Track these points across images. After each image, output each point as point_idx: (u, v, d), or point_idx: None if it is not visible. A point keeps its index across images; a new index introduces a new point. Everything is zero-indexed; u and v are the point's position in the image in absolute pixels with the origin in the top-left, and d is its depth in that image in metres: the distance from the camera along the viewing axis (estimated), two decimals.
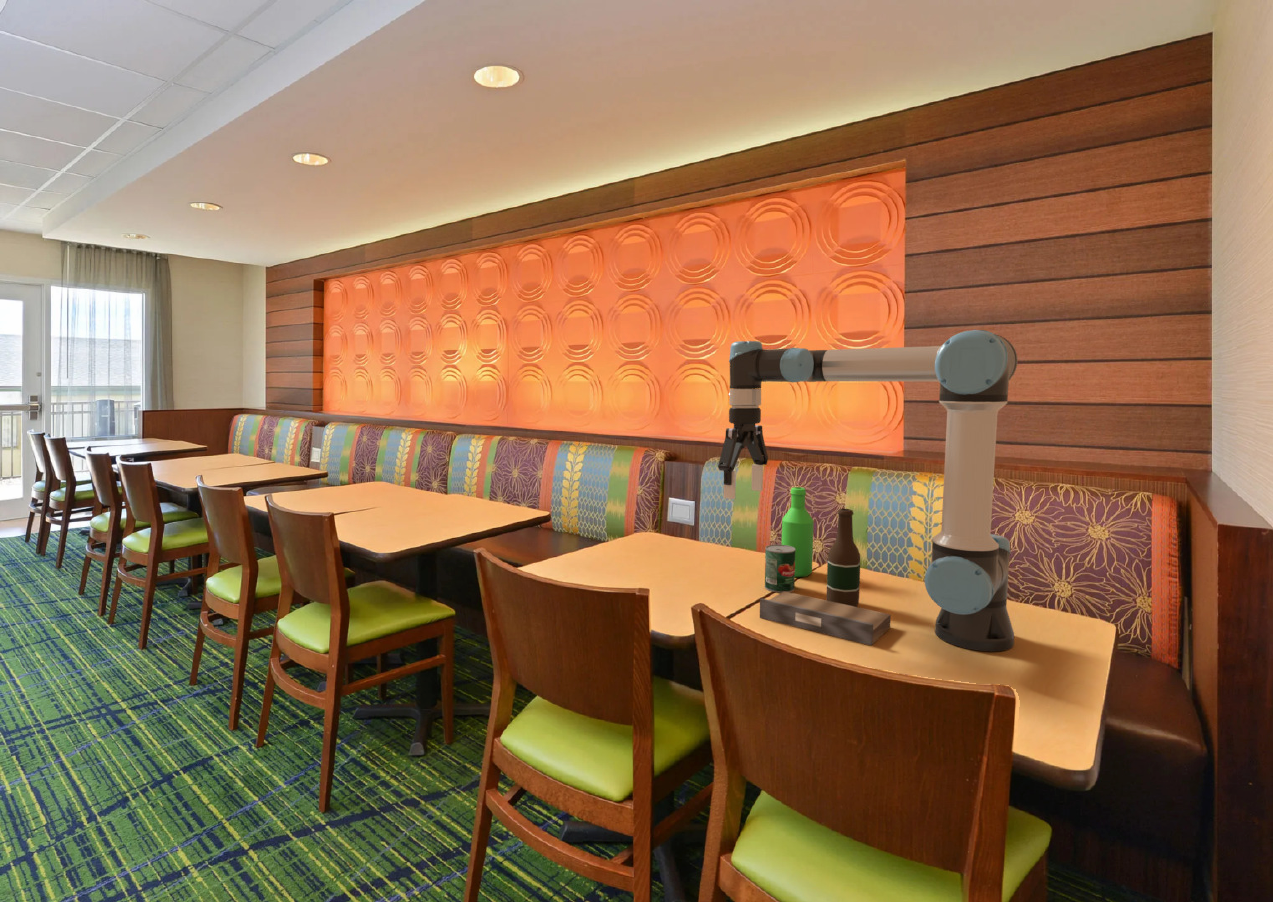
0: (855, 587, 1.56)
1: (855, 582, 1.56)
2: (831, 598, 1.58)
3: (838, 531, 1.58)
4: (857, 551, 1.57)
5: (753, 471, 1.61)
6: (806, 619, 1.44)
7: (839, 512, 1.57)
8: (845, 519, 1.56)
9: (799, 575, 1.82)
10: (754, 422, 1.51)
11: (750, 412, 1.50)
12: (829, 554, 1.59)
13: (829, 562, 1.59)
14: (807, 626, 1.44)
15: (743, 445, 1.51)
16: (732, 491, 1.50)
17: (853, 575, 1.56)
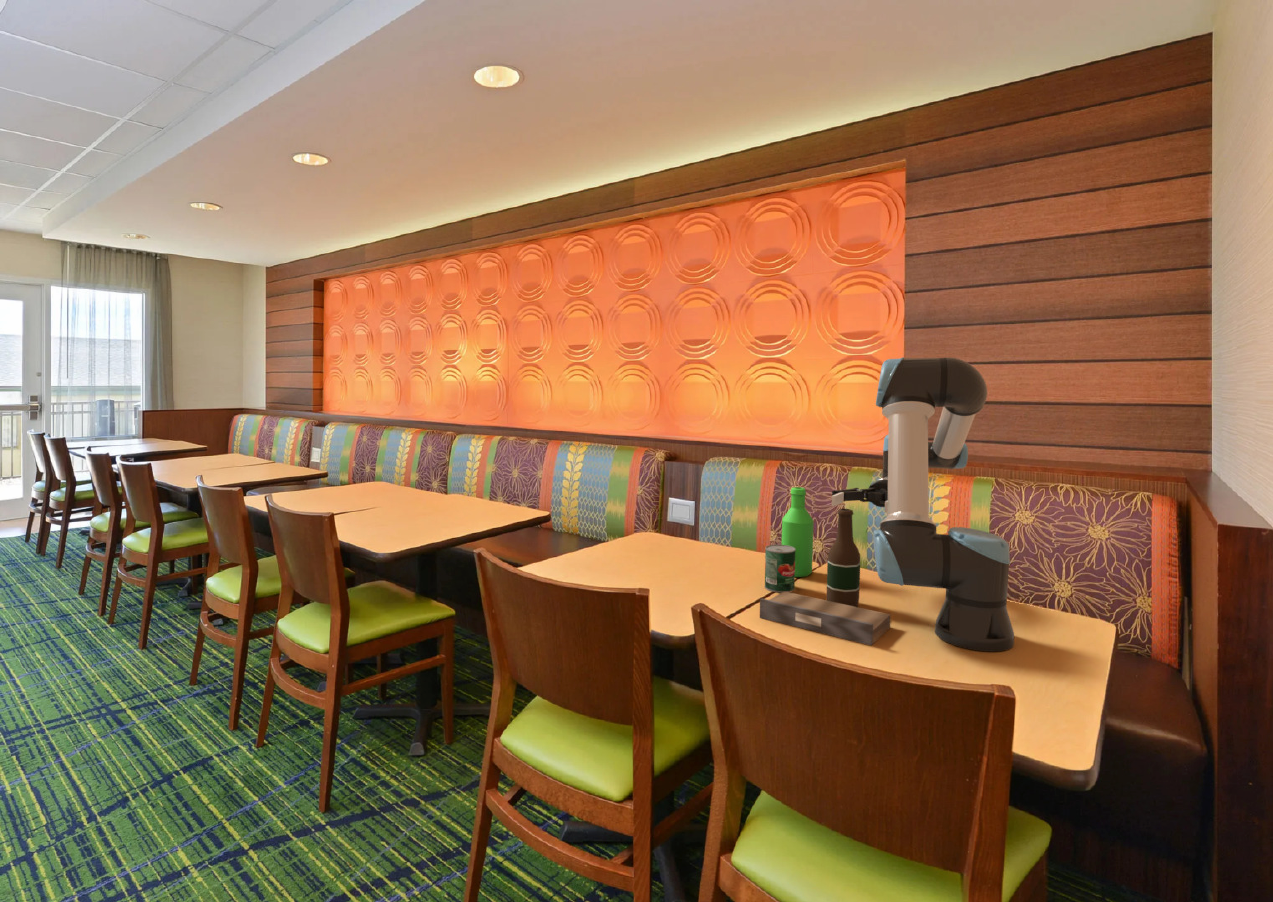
0: (855, 587, 1.56)
1: (855, 582, 1.56)
2: (831, 598, 1.58)
3: (838, 531, 1.58)
4: (857, 551, 1.57)
5: None
6: (806, 619, 1.44)
7: (839, 512, 1.57)
8: (845, 519, 1.56)
9: (799, 575, 1.82)
10: (876, 481, 1.79)
11: None
12: (829, 554, 1.59)
13: (829, 562, 1.59)
14: (807, 626, 1.44)
15: (862, 489, 1.76)
16: None
17: (853, 575, 1.56)
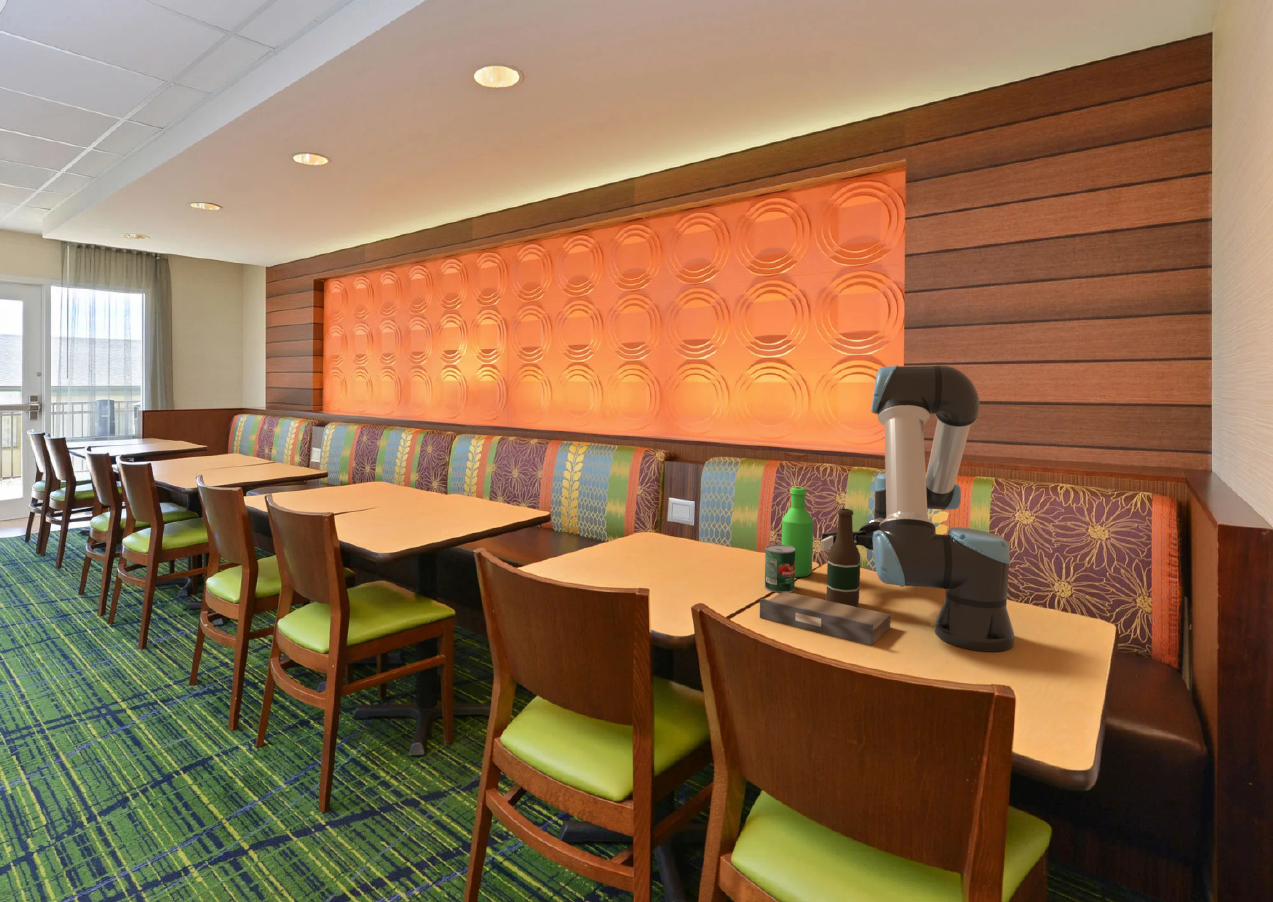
0: (855, 587, 1.56)
1: (855, 582, 1.56)
2: (831, 598, 1.58)
3: (838, 531, 1.58)
4: (857, 551, 1.57)
5: None
6: (806, 619, 1.44)
7: (839, 512, 1.57)
8: (845, 519, 1.56)
9: (799, 575, 1.82)
10: (867, 524, 1.76)
11: None
12: (829, 554, 1.59)
13: (829, 562, 1.59)
14: (807, 626, 1.44)
15: None
16: None
17: (853, 575, 1.56)
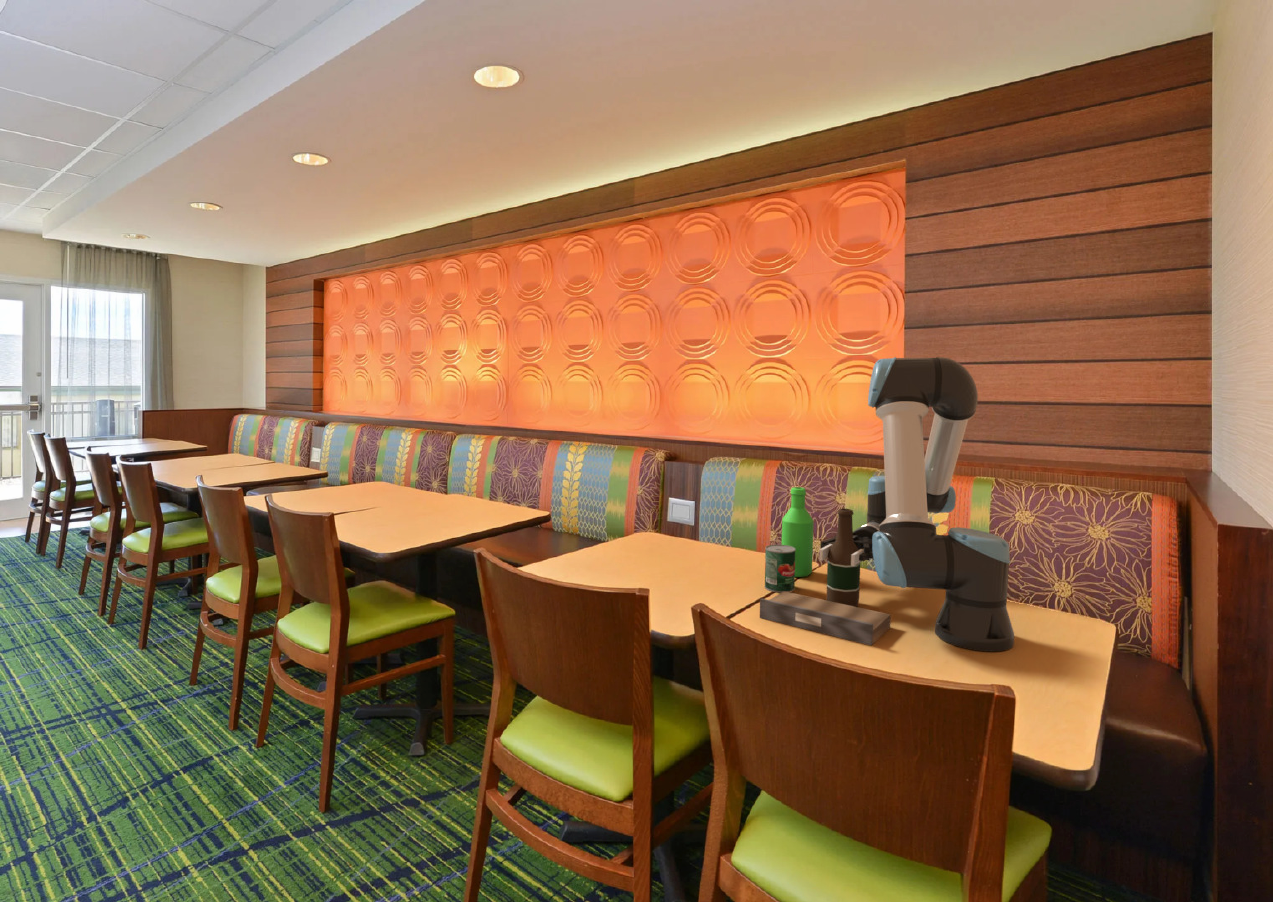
0: (855, 587, 1.56)
1: (855, 582, 1.56)
2: (831, 598, 1.58)
3: (838, 531, 1.58)
4: None
5: None
6: (806, 619, 1.44)
7: (839, 512, 1.57)
8: (845, 519, 1.56)
9: (799, 575, 1.82)
10: (859, 528, 1.70)
11: None
12: (829, 554, 1.59)
13: (829, 562, 1.59)
14: (807, 626, 1.44)
15: None
16: None
17: (853, 575, 1.56)
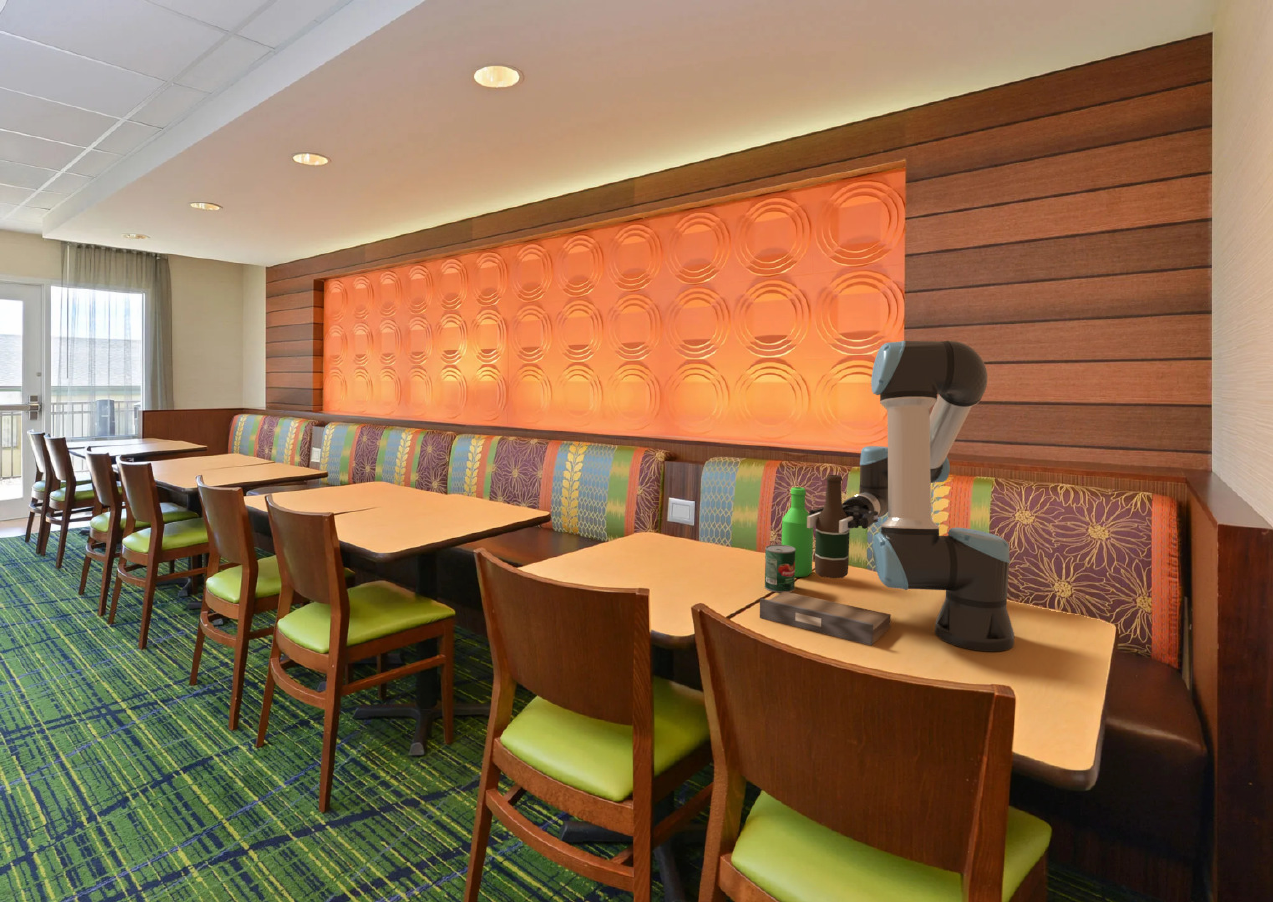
0: (844, 555, 1.51)
1: (844, 550, 1.51)
2: (819, 567, 1.53)
3: (826, 498, 1.53)
4: None
5: None
6: (806, 619, 1.44)
7: (827, 478, 1.52)
8: (833, 485, 1.51)
9: (799, 575, 1.82)
10: (850, 498, 1.65)
11: None
12: (817, 522, 1.54)
13: (817, 530, 1.54)
14: (807, 626, 1.44)
15: None
16: None
17: (842, 543, 1.51)
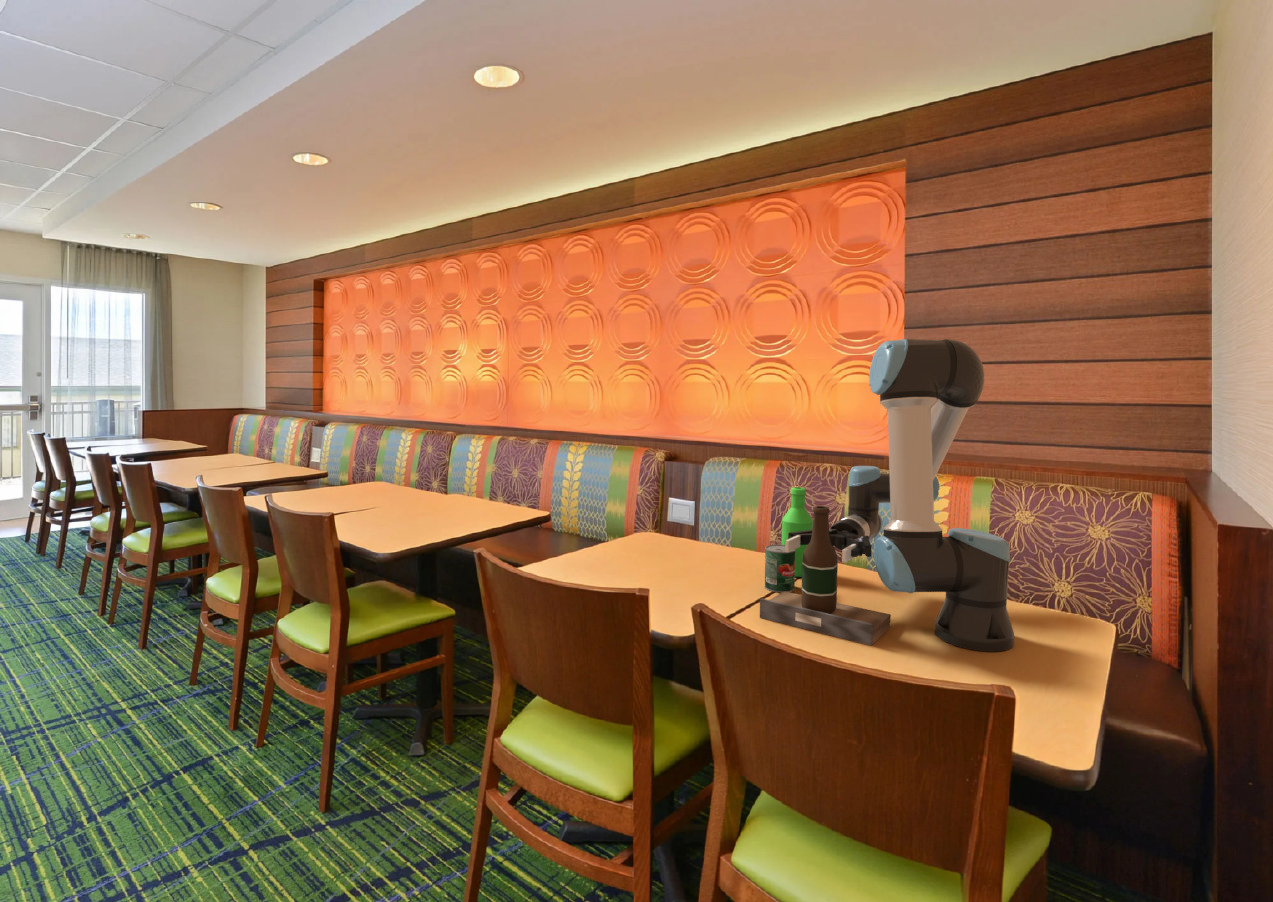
0: (831, 591, 1.44)
1: (831, 586, 1.44)
2: (806, 603, 1.46)
3: (813, 530, 1.45)
4: (834, 552, 1.45)
5: None
6: (806, 619, 1.44)
7: (814, 510, 1.45)
8: (820, 517, 1.44)
9: (799, 575, 1.82)
10: (838, 521, 1.58)
11: None
12: (804, 555, 1.47)
13: (804, 564, 1.47)
14: (807, 626, 1.44)
15: None
16: None
17: (830, 578, 1.44)
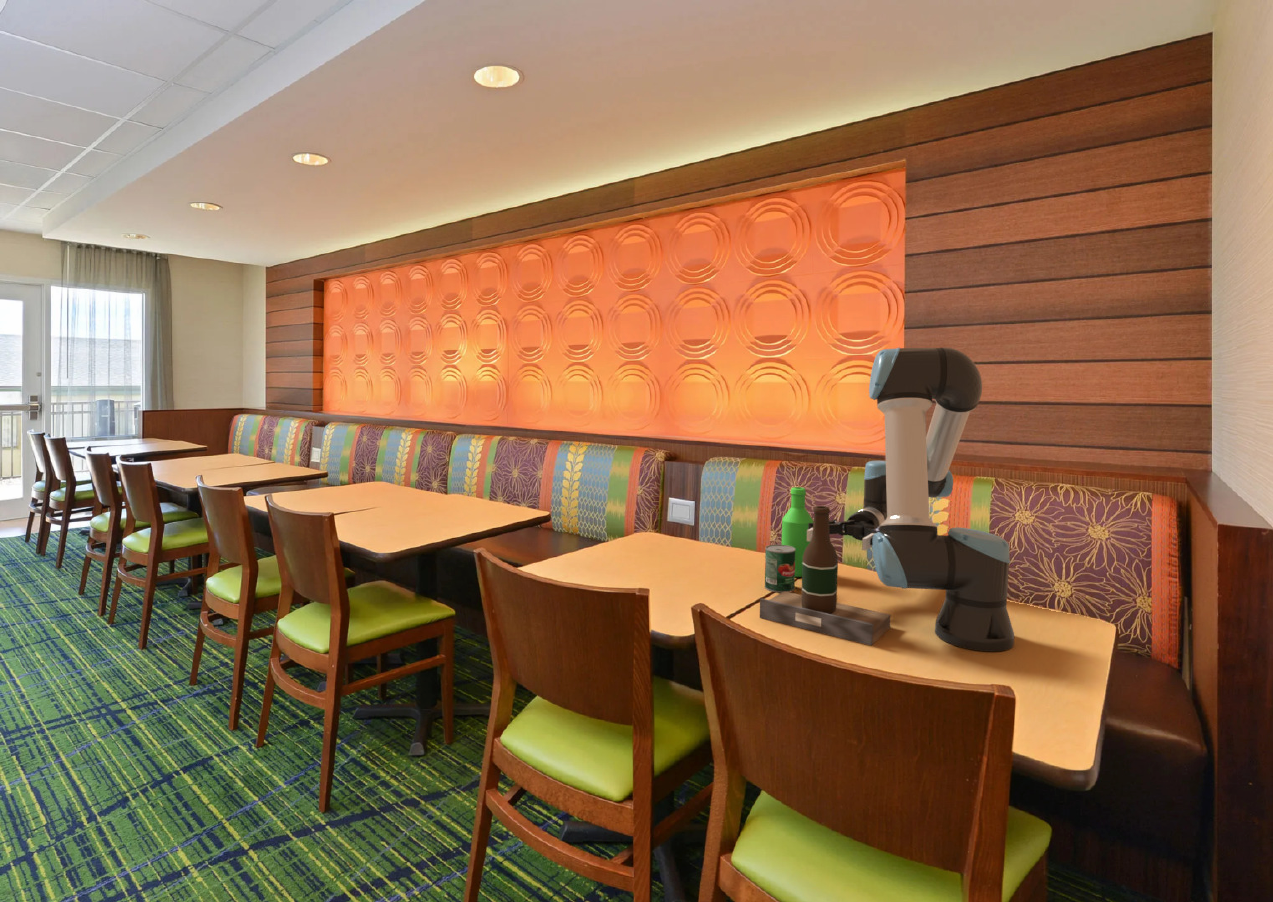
0: (832, 591, 1.44)
1: (832, 585, 1.44)
2: (806, 603, 1.46)
3: (814, 530, 1.46)
4: (834, 552, 1.45)
5: None
6: (806, 619, 1.44)
7: (815, 510, 1.45)
8: (821, 517, 1.44)
9: (799, 575, 1.82)
10: (855, 513, 1.68)
11: None
12: (804, 555, 1.47)
13: (804, 564, 1.47)
14: (807, 626, 1.44)
15: (840, 522, 1.65)
16: None
17: (830, 578, 1.44)
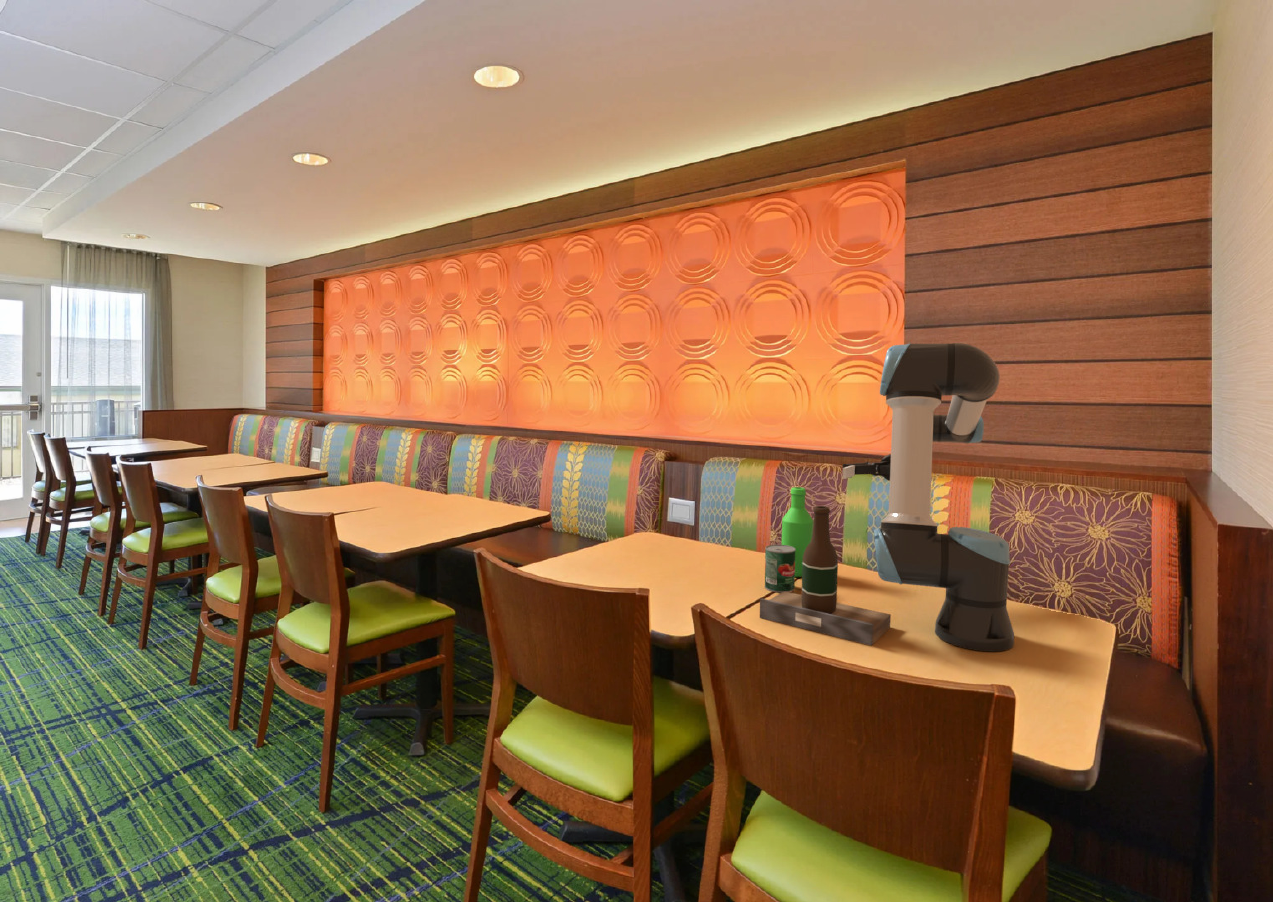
0: (832, 591, 1.44)
1: (831, 586, 1.44)
2: (806, 603, 1.46)
3: (814, 530, 1.46)
4: (834, 552, 1.45)
5: None
6: (806, 619, 1.44)
7: (814, 510, 1.45)
8: (821, 517, 1.44)
9: (799, 575, 1.82)
10: (888, 455, 1.73)
11: None
12: (804, 555, 1.47)
13: (804, 564, 1.47)
14: (807, 626, 1.44)
15: (873, 462, 1.70)
16: None
17: (830, 578, 1.44)
